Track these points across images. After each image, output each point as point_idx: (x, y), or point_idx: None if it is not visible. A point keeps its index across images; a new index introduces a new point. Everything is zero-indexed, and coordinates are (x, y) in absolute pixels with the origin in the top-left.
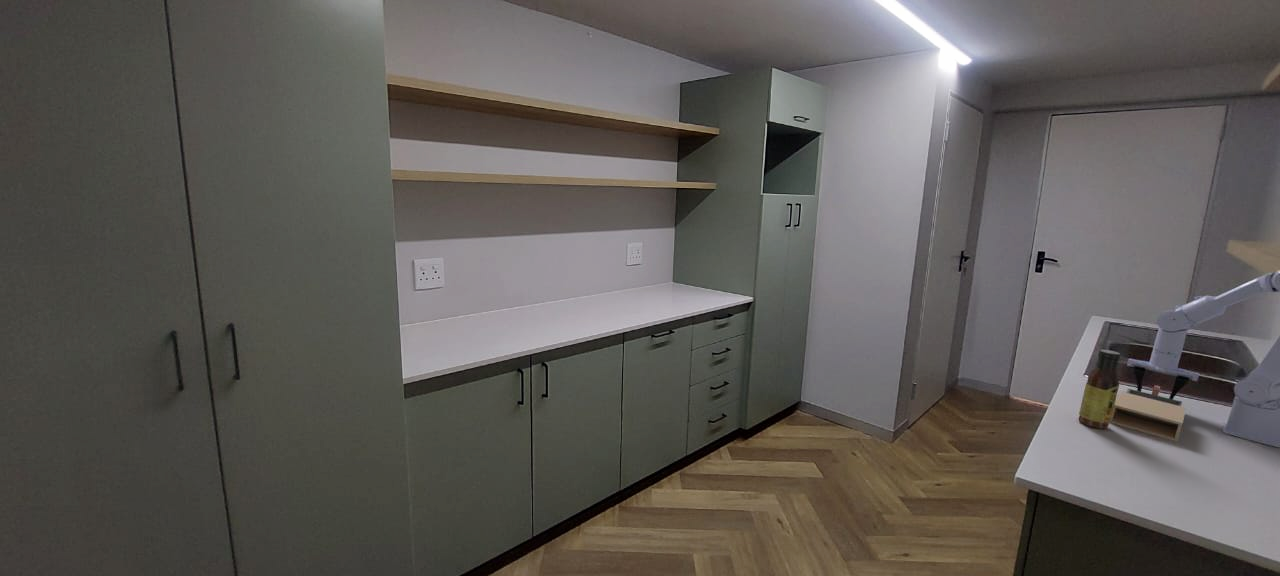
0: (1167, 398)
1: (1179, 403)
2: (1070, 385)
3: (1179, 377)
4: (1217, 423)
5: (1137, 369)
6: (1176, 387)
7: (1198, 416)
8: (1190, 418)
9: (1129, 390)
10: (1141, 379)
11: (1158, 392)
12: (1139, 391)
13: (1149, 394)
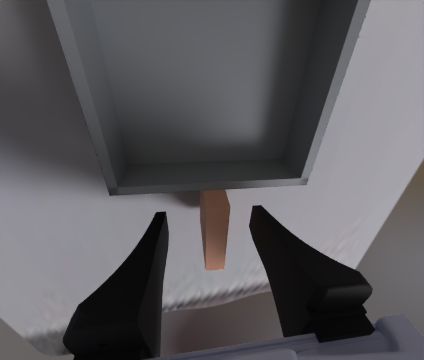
0: (164, 187)
1: (104, 151)
2: (413, 167)
3: (128, 354)
4: (19, 184)
5: (345, 309)
6: (138, 265)
7: (85, 204)
8: (88, 156)
9: (309, 155)
10: (292, 249)
11: (204, 226)
12: (268, 182)
13: (231, 181)
